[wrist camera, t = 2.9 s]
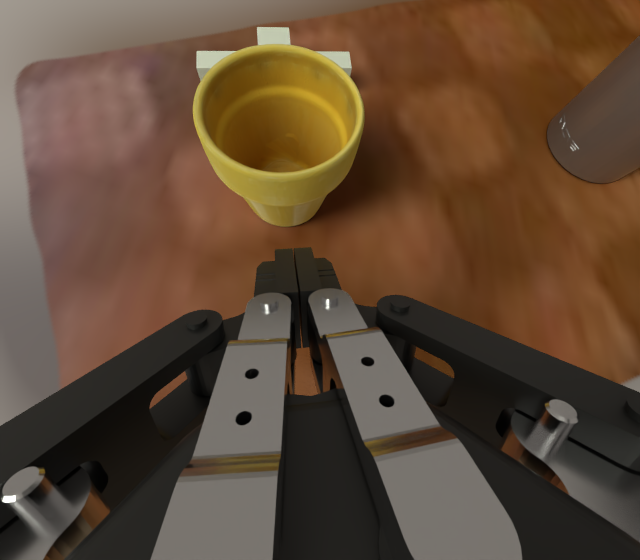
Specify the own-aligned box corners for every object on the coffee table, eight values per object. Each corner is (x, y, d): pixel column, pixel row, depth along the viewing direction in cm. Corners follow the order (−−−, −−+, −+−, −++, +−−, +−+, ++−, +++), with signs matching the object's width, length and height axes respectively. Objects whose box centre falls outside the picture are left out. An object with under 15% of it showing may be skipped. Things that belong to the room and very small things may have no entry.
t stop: (340, 58, 32) (345, 28, 29) (346, 95, 31) (351, 68, 28) (206, 57, 31) (196, 26, 28) (206, 96, 30) (196, 68, 27)
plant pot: (258, 129, 29) (241, 17, 20) (357, 170, 29) (388, 76, 19) (206, 218, 26) (156, 136, 17) (315, 264, 26) (327, 207, 16)
